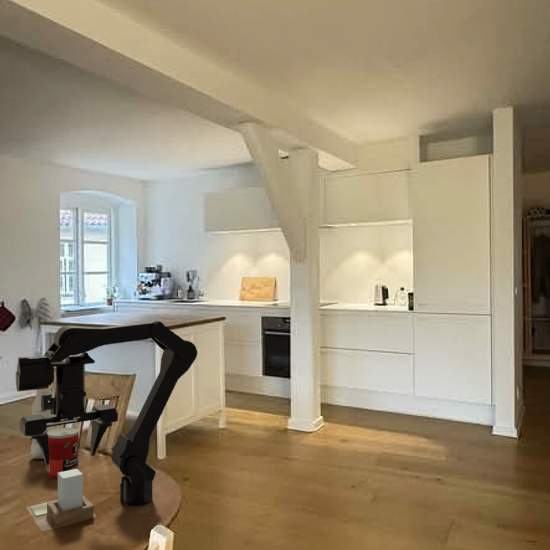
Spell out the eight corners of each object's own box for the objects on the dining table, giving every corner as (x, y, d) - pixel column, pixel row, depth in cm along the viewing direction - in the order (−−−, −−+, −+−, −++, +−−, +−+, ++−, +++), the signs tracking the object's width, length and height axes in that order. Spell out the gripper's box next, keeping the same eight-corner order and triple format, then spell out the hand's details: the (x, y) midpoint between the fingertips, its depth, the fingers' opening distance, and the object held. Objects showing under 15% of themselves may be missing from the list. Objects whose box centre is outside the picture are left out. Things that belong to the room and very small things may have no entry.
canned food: (67, 480, 134) (67, 436, 134) (39, 477, 136) (39, 434, 136) (84, 469, 142) (84, 428, 142) (57, 467, 143) (57, 426, 143)
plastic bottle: (32, 455, 153) (32, 386, 153) (57, 453, 155) (57, 384, 155) (29, 462, 146) (29, 390, 147) (55, 460, 148) (55, 389, 149)
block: (82, 517, 111) (82, 474, 111) (62, 522, 109) (63, 478, 109) (76, 510, 114) (77, 468, 114) (57, 515, 112) (57, 472, 112)
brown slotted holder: (97, 521, 111) (97, 504, 111) (41, 536, 105) (41, 519, 105) (77, 499, 123) (77, 484, 123) (25, 511, 116) (25, 495, 116)
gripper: (102, 375, 124) (102, 442, 124) (14, 385, 113) (14, 458, 113) (118, 383, 115) (118, 455, 115) (25, 394, 104) (25, 474, 104)
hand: (70, 459), depth 112 cm, fingers open, 9 cm apart
